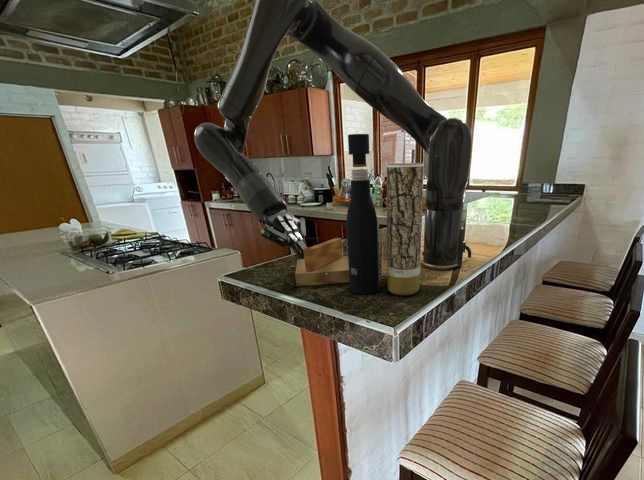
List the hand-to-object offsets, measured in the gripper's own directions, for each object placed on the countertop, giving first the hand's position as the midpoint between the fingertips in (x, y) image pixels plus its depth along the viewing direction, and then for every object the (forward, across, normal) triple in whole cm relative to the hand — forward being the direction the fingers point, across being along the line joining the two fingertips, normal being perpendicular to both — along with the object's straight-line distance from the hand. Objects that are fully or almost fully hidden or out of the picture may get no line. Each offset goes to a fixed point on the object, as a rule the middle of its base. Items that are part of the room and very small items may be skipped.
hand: (306, 256), depth 77 cm
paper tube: (+20, +5, -12) cm, 24 cm away
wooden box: (+5, +5, +3) cm, 8 cm away
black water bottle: (+14, +2, -6) cm, 16 cm away
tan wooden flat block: (+3, +5, +1) cm, 6 cm away
